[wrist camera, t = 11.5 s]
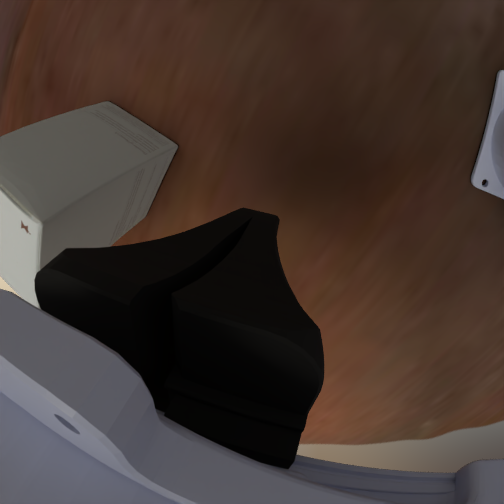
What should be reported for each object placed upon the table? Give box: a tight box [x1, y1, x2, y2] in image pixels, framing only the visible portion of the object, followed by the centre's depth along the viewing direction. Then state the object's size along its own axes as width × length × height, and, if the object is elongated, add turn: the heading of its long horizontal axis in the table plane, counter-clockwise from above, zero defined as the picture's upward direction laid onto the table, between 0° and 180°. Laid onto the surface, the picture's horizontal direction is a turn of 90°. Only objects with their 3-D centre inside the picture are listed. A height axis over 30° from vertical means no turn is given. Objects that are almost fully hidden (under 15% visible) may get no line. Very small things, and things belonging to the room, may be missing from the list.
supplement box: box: [0, 101, 178, 309], centre depth 18 cm, size 7×7×13 cm
